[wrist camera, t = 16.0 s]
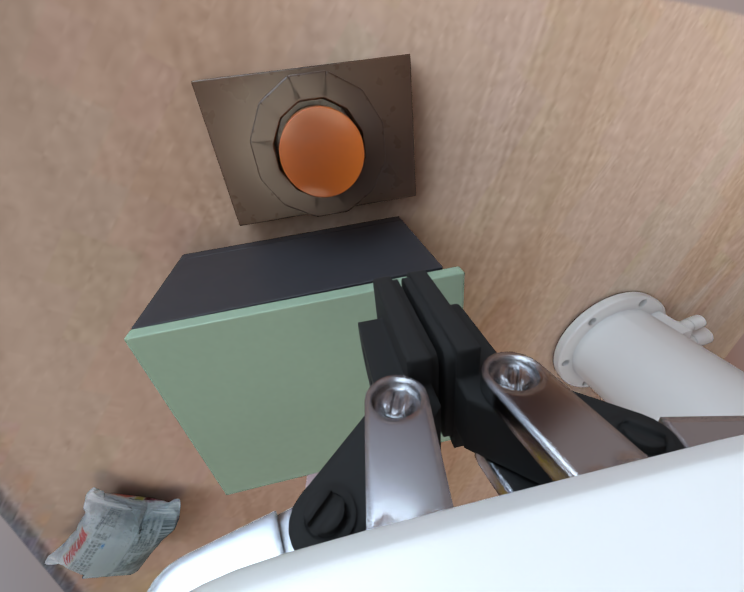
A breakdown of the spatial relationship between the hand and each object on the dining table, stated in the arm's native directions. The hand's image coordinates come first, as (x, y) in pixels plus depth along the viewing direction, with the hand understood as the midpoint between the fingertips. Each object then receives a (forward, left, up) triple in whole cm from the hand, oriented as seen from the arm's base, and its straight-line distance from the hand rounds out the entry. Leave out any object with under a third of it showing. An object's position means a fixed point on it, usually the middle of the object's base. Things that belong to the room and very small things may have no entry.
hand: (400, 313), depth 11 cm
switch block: (+1, -4, -15) cm, 16 cm away
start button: (0, -4, -12) cm, 13 cm away
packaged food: (+34, +24, -15) cm, 44 cm away
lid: (+5, +8, -6) cm, 11 cm away
